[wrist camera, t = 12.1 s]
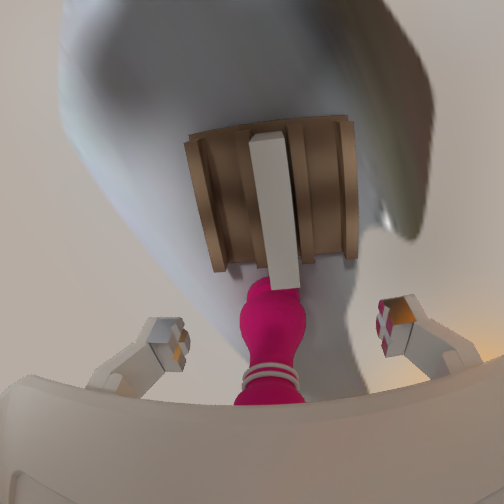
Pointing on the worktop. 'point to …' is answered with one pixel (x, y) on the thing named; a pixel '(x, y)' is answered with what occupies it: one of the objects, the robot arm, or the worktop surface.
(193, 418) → the robot arm
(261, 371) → the pepper mill
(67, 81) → the worktop surface
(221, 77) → the worktop surface
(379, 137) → the worktop surface
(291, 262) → the clay strip
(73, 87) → the worktop surface
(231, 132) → the walnut rack
